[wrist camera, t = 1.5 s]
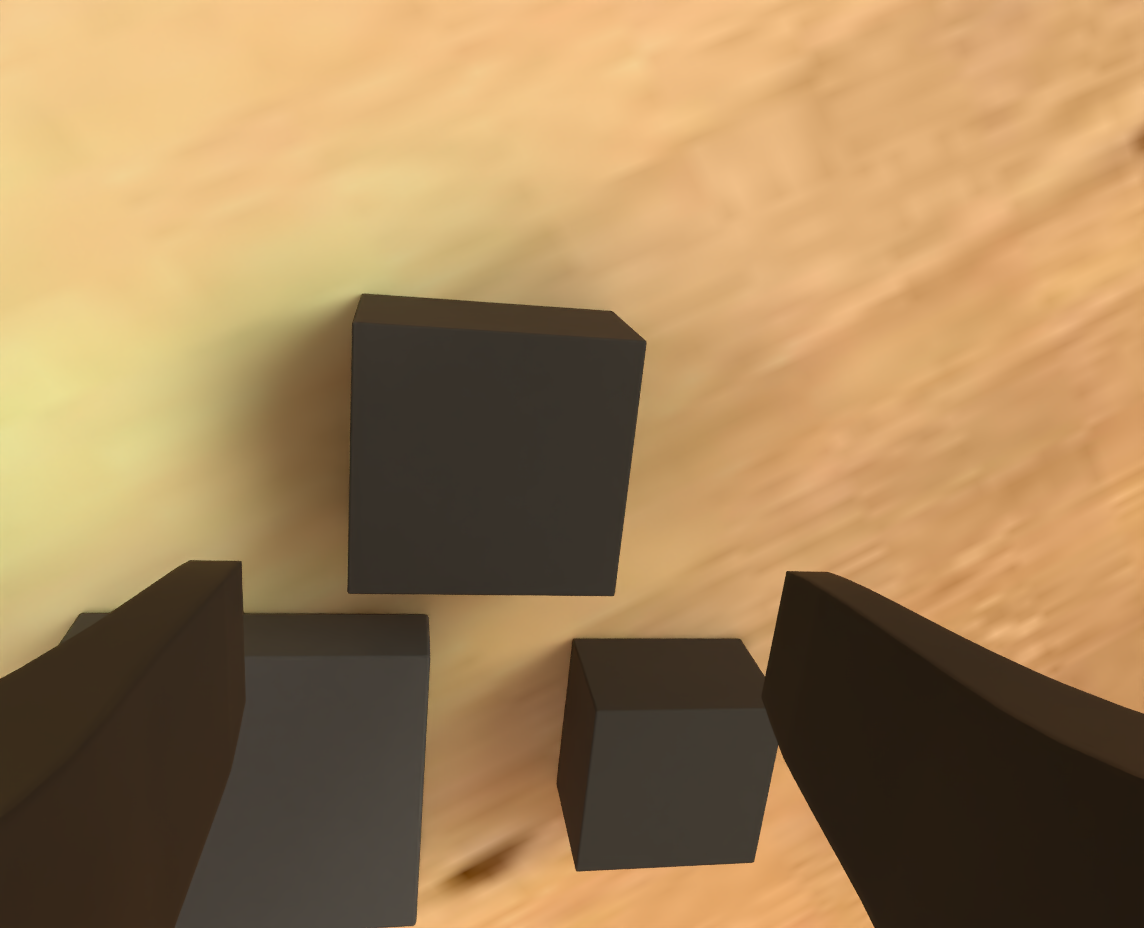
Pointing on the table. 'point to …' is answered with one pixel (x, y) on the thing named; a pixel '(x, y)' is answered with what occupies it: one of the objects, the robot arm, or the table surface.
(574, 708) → the top pad
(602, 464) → the middle pad
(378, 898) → the base pad
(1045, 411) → the table surface
